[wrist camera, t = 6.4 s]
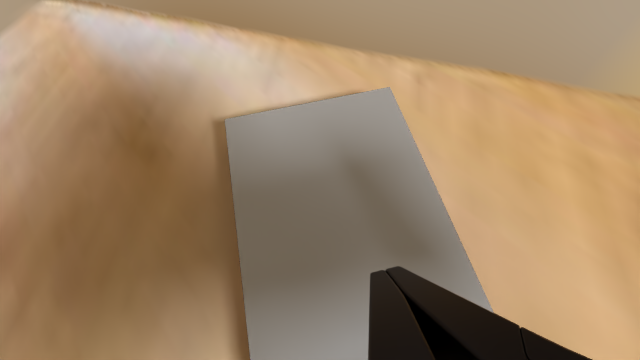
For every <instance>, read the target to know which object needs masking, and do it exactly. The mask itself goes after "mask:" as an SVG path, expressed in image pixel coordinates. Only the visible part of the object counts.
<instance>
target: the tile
mask: <svg viewBox="0 0 640 360" xmlns="http://www.w3.org/2000/svg"><path fill="white" fill-rule="evenodd" d="M225 127H226V137H227V146H228V155H229V165H230V174H231V184H232V193H233V202H234V212H235V221H236V230H237V240H238V249H239V259H240V268H241V277H242V287H243V296H244V305H245V315H246V324H247V334H248V343H249V352H250V360H368V338H369V296H370V274H371V273H372V272H375V271H380V270H386V269H388V268H392V267H396V266H400V267H403V268H405V269H407V270H409V271H411V272H413V273H415V274H417V275H419V276H421V277H423V278H425V279H427V280H429V281H431V282H433V283H435V284H437V285H439V286H441V287H443V288H445V289H447V290H449V291H451V292H453V293H455V294H457V295H459V296H461V297H463V298H465V299H467V300H469V301H471V302H473V303H475V304H477V305H479V306H481V307H483V308H485V309H487V310H489V311H491V312H493V310H492V308H491V306H490V304H489V301H488V299H487V297H486V295H485V293H484V291H483V288H482V286H481V284H480V282H479V280H478V278H477V275H476V273H475V271H474V269H473V267H472V265H471V262H470V260H469V258H468V256H467V254H466V251H465V249H464V247H463V245H462V243H461V241H460V238H459V236H458V234H457V232H456V230H455V228H454V225H453V223H452V221H451V219H450V217H449V215H448V212H447V210H446V208H445V206H444V204H443V202H442V199H441V197H440V195H439V193H438V191H437V189H436V186H435V184H434V182H433V180H432V178H431V175H430V173H429V171H428V169H427V167H426V165H425V162H424V160H423V158H422V156H421V154H420V152H419V149H418V147H417V145H416V143H415V141H414V139H413V136H412V134H411V132H410V130H409V128H408V126H407V123H406V121H405V119H404V117H403V115H402V112H401V110H400V108H399V106H398V104H397V102H396V99H395V97H394V95H393V93H392V91H391V89H390V87H387V88H382V89H377V90H372V91H367V92H362V93H357V94H352V95H346V96H341V97H336V98H331V99H326V100H321V101H316V102H311V103H305V104H300V105H295V106H290V107H285V108H280V109H275V110H270V111H265V112H259V113H254V114H249V115H244V116H239V117H234V118H229V119H225ZM493 313H494V312H493Z"/></svg>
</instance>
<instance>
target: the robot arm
mask: <svg viewBox="0 0 640 360" xmlns="http://www.w3.org/2000/svg"><path fill="white" fill-rule="evenodd" d="M368 360H592V359H590V358H587V357H585V356H583V355H581V354H578V353H576V352H574V351H571V350H569V349H567V348H565V347H563V346H561V345H559V344H557V343H554V342H552V341H550V340H548V339H546V338H544V337H542V336H540V335H538V334H536V333H534V332H532V331H530V330H528V329H526V328H524V327H521V328H520V327H519V325H517V324H515V323H513V322H511V321H509V320H507V319H505V318H503V317H501V316H499V315H497V314H495V313H493V312H491V311H489V310H487V309H485V308H483V307H481V306H479V305H477V304H475V303H473V302H471V301H469V300H467V299H465V298H463V297H461V296H459V295H457V294H455V293H453V292H451V291H449V290H447V289H445V288H443V287H441V286H439V285H437V284H435V283H433V282H431V281H429V280H427V279H425V278H423V277H421V276H419V275H417V274H415V273H413V272H411V271H409V270H407V269H405V268H403V267H400V266H396V267H392V268H388V269H386V270H380V271H375V272H372V273H371V274H370V296H369V338H368Z"/></svg>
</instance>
